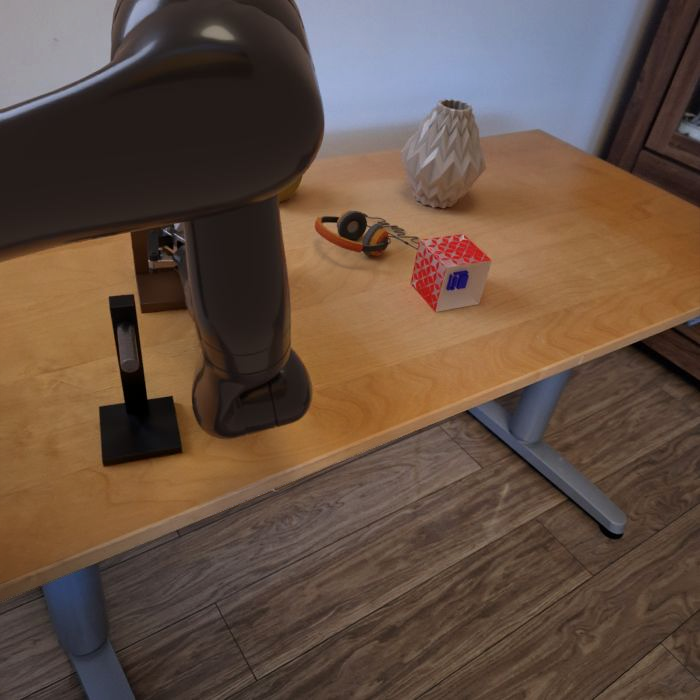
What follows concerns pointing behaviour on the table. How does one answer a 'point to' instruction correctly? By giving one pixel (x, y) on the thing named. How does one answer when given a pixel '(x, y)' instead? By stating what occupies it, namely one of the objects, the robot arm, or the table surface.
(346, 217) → the headphones
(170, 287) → the rack
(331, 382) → the table surface
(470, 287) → the red patterned cube
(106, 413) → the holder
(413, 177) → the vase
